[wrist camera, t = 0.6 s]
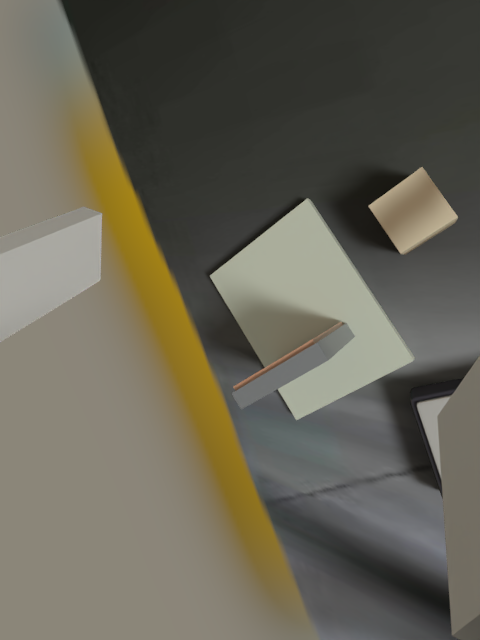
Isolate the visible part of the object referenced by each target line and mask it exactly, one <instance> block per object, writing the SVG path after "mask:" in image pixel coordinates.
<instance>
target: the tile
mask: <svg viewBox="0 0 480 640" xmlns="http://www.w3.org/2000/svg"><path fill="white" fill-rule="evenodd" d="M354 337H355V335H354V334H353V332H352V331H351V329H350V328H349V326H348V324H347V323H346V324H344V325H343V324H342V322H339V323H338V324H336V325H335V326H333V327H331V328H330V329H328V330H326V331H325V332H323V333H321V334H320V335H318V336H316V337H315V338H313V339H311V340H310V341H308V342H306V343H305V344H303V345H301V346H300V347H298V348H296V349H295V350H293V351H291V352H290V353H288V354H286V355H285V356H283V357H281V358H280V359H278V360H276V361H275V362H273V363H272V364H270V365H268V366H267V367H265V368H263V369H262V370H260V371H258V372H257V373H255V374H253V375H252V376H250V377H249V378H247V379H245V380H244V381H242V382H240V383H239V384H237V385H235V386H234V389H235V390H236V391H234V392H233V393H232V395H233V397H234V398H235V400H236V402H237V403H238V405H239V407H240V409H243V408H245V407H247V406H248V405H250V404H252V403H254V402H255V401H257V400H259V399H261V398H263V397H264V396H266V395H268V394H270V393H271V392H273V391H275V390H277V389H279V388H280V387H282V386H284V385H286V384H287V383H289V382H291V381H293V380H295V379H296V378H298V377H300V376H302V375H303V374H305V373H307V372H309V371H310V370H312V369H314V368H316V367H318V366H319V365H321V364H323V363H325V362H326V361H328V360H329V359H331V358H332V357H333V356H334V355H335V354H336V353H337V352H338V351H340V350H341V349H342V348H343V347H344V346H345V345H346V344H347V343H349V342H350V341H351V340H352V339H353V338H354Z"/></svg>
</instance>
